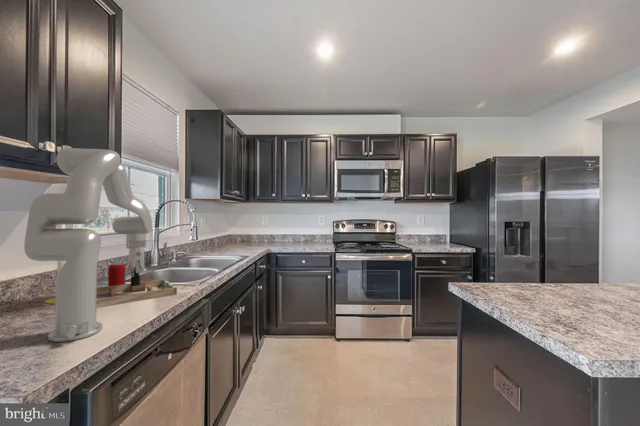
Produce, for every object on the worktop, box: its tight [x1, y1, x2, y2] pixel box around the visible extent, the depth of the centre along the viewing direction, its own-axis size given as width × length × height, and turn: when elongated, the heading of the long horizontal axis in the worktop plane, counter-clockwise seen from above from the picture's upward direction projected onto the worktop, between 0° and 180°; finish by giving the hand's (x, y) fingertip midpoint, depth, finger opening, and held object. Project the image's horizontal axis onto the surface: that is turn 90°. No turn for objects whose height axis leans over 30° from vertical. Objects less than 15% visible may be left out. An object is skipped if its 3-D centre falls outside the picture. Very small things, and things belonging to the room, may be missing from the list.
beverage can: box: [107, 262, 127, 287], centre depth 140 cm, size 7×7×12 cm
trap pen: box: [96, 278, 178, 309], centre depth 129 cm, size 22×30×3 cm
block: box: [131, 280, 146, 294], centre depth 136 cm, size 5×5×4 cm
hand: (135, 285), depth 131 cm, fingers closed
